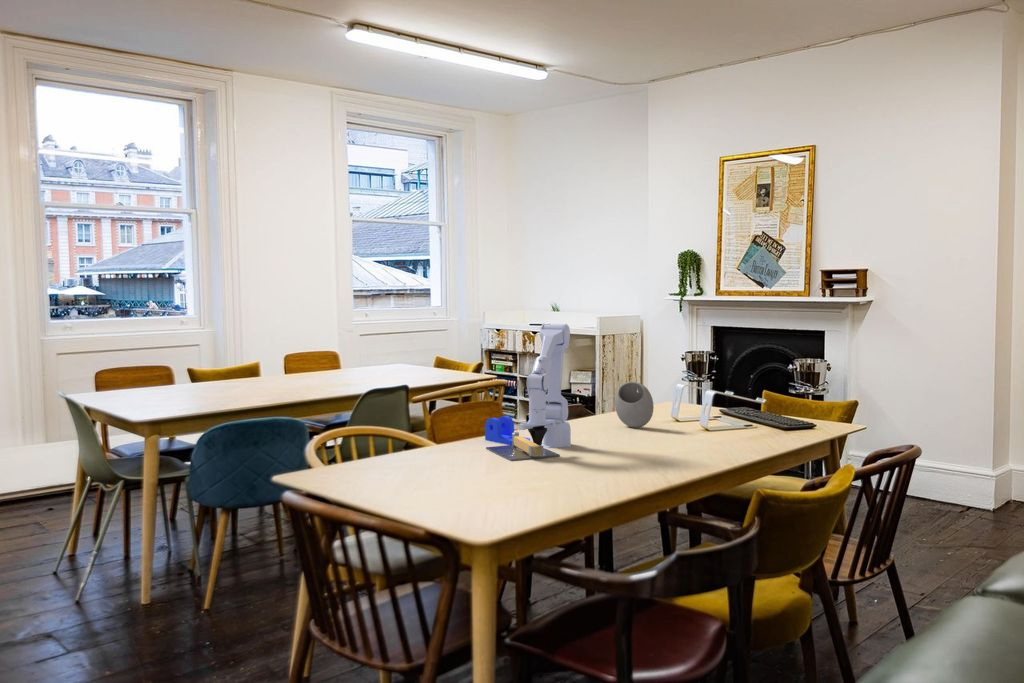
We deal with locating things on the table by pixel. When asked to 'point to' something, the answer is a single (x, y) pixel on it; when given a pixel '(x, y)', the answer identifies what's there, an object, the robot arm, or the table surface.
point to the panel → (518, 452)
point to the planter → (634, 404)
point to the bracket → (500, 430)
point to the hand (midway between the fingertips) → (537, 448)
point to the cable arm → (528, 446)
